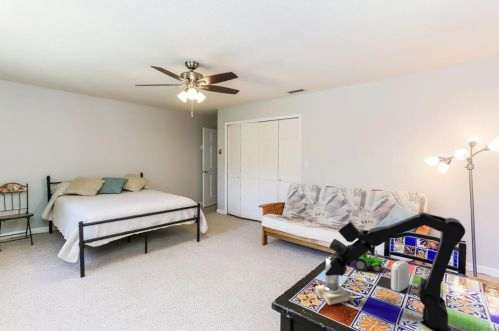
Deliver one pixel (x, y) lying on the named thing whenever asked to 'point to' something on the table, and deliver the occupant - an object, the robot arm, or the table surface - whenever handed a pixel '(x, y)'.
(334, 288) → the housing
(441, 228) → the robot arm
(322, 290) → the stand
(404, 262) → the photo printer
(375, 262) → the toy tractor
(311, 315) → the table surface
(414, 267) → the table surface
